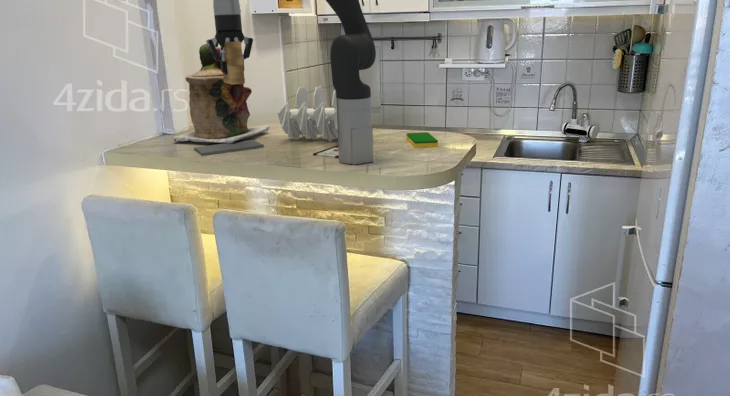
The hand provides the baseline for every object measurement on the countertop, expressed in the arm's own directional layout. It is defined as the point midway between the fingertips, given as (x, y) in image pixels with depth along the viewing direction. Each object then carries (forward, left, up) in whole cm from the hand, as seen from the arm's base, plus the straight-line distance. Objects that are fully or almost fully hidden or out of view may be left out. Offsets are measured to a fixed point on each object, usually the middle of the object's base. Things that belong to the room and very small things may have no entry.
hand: (233, 73), depth 164 cm
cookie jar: (+19, 0, -22) cm, 29 cm away
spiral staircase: (-6, -26, -23) cm, 35 cm away
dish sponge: (-28, -49, -23) cm, 61 cm away
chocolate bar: (-23, -24, -23) cm, 41 cm away
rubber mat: (0, +4, -23) cm, 23 cm away
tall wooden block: (0, 0, -3) cm, 3 cm away
